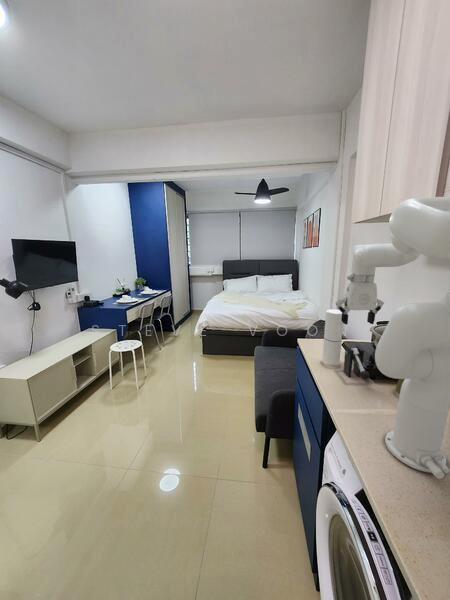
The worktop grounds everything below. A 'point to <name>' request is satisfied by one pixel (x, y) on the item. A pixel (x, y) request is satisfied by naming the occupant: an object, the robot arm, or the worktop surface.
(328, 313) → the cylindrical container
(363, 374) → the lever
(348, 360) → the bracket
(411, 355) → the robot arm
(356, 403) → the worktop surface
